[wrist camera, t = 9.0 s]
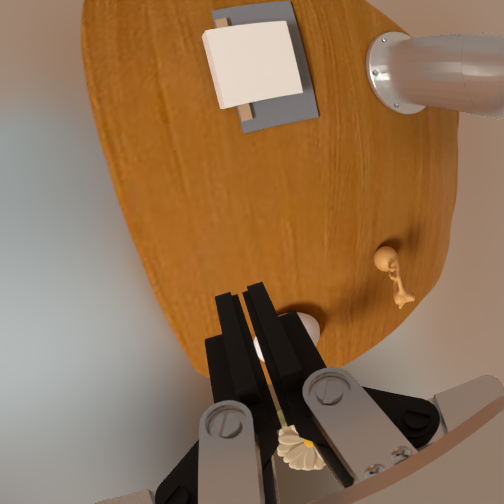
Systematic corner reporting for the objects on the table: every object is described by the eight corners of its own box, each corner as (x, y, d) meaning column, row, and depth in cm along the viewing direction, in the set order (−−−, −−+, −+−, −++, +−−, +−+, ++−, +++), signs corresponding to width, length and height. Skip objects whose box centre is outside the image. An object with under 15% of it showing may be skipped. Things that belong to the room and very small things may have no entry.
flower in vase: (324, 306, 48) (401, 428, 26) (304, 354, 53) (359, 469, 31) (248, 304, 45) (301, 456, 23) (236, 357, 49) (272, 490, 28)
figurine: (391, 267, 48) (433, 307, 37) (362, 282, 48) (401, 327, 37) (386, 226, 43) (434, 263, 33) (354, 242, 43) (399, 284, 33)
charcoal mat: (289, 1, 26) (291, -1, 25) (317, 116, 34) (320, 117, 33) (211, 11, 25) (211, 9, 24) (243, 133, 33) (244, 133, 32)
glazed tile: (201, 36, 26) (276, 26, 27) (219, 109, 30) (292, 93, 32) (205, 30, 23) (285, 20, 25) (225, 108, 28) (303, 92, 29)
